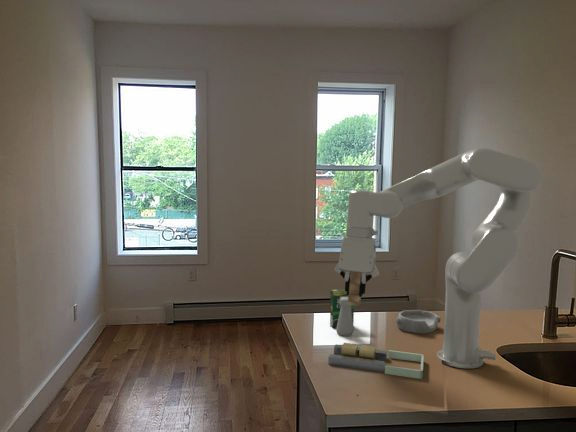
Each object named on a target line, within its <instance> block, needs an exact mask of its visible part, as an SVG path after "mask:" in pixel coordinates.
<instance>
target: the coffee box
mask: <svg viewBox="0 0 576 432" xmlns="http://www.w3.org/2000/svg"><path fill="white" fill-rule="evenodd" d="M346 294H347V291H345V288H342V289H331V290H330V305H329V306H330V308H329V309H330V311H329V313H330V317H329V326H330V327H331V328H332V329H336V328H337V323H338V318H339V314H340V309H341V305H340V303H339V301H340V298H342V297H348V295H346ZM354 307H355V306H354V305H352V306H351V313H352V320H353V324H354V322H355V320H354V318H355V317H354V316H355V312H354V311H355V308H354Z"/></svg>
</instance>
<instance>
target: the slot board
mask: <svg viewBox="0 0 576 432" xmlns="http://www.w3.org/2000/svg"><path fill="white" fill-rule="evenodd" d="M342 346H343V344H335V345H334V346H333V348H334V349H333V353H332V354H331V353H330V354H329V355H328V358H327V359H328V362H327V364H328V365H333V366H339V367H346V368H354V369H358V370H359V369H360V370H367V371H373V372H382V373H385V365H386V364H387V360H388V359H387V358H388V350H382V349H376V353H375V360H371V359H363V358H359V350H360V347H359V346H358V358H356V357H349V356H341V347H342Z"/></svg>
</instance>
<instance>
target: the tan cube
mask: <svg viewBox="0 0 576 432" xmlns="http://www.w3.org/2000/svg"><path fill="white" fill-rule="evenodd" d="M342 345H343V346H342V347H341V356H349V357H356V358H358V347H359V344H357V343H351V342H343V343H342Z"/></svg>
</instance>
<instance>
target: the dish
mask: <svg viewBox="0 0 576 432" xmlns="http://www.w3.org/2000/svg"><path fill="white" fill-rule="evenodd" d="M441 319H442V318H441V316H440V315H438V314H436V313H434V312H431V311H428V310H421V309H413V310H412V309H411V310H410V309H407V310H405V309H404V310H402V311H399V312H398V316H397V317H396V319H395V323H396V325H397V327H398V329H400V330H402V331H404V332H408V333H413V334H430V333H433V332H435V331H436V330H437V328H438V325H439V323H441Z"/></svg>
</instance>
